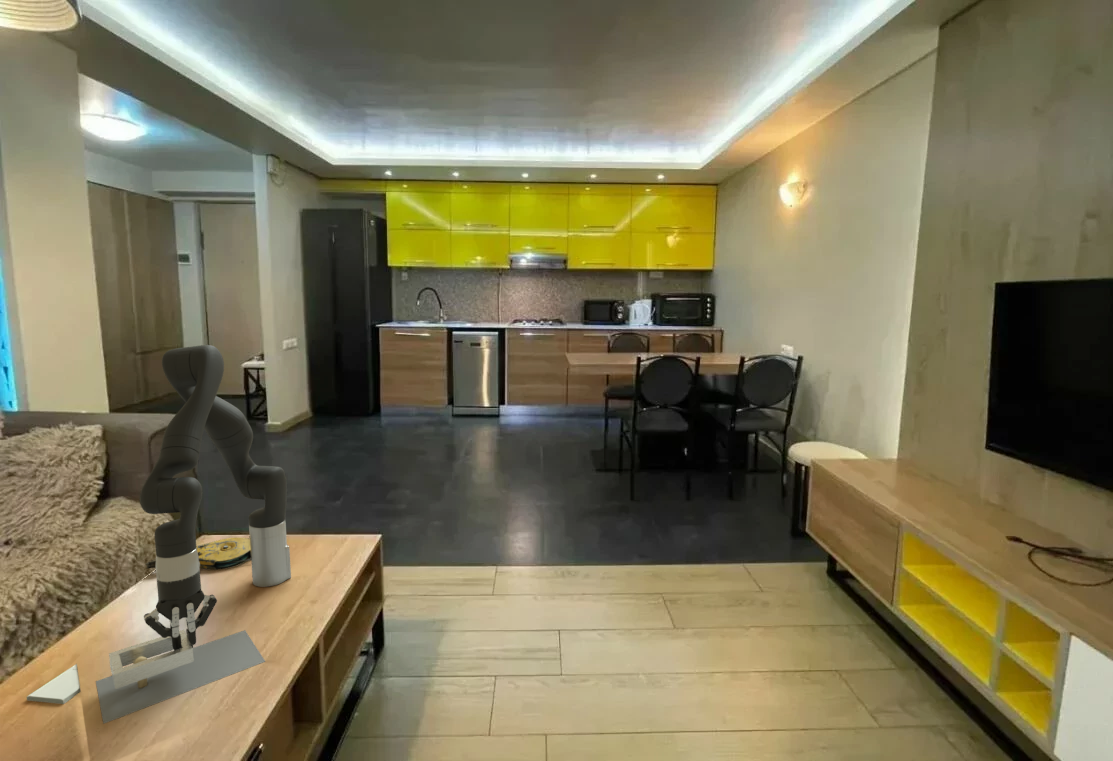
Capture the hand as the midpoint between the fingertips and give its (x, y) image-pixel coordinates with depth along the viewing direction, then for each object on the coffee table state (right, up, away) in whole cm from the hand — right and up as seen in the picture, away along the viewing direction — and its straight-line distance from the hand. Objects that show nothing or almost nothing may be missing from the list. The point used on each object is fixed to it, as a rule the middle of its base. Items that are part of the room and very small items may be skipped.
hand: (184, 648), depth 122 cm
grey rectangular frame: (-4, -1, -4) cm, 6 cm away
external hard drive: (-22, -7, -2) cm, 23 cm away
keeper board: (-1, -6, 0) cm, 6 cm away
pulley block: (-27, +1, +53) cm, 59 cm away
